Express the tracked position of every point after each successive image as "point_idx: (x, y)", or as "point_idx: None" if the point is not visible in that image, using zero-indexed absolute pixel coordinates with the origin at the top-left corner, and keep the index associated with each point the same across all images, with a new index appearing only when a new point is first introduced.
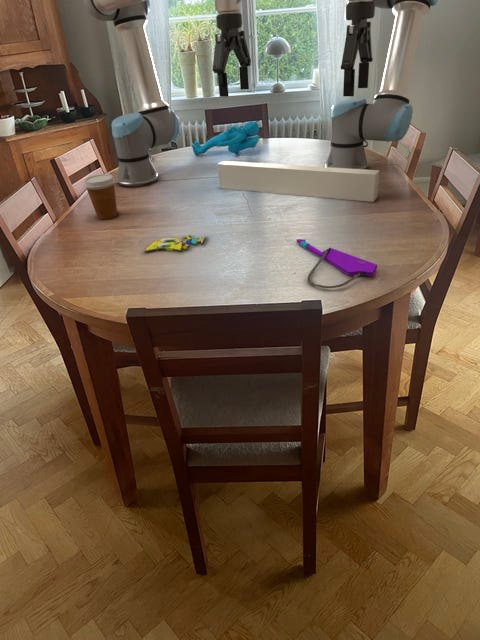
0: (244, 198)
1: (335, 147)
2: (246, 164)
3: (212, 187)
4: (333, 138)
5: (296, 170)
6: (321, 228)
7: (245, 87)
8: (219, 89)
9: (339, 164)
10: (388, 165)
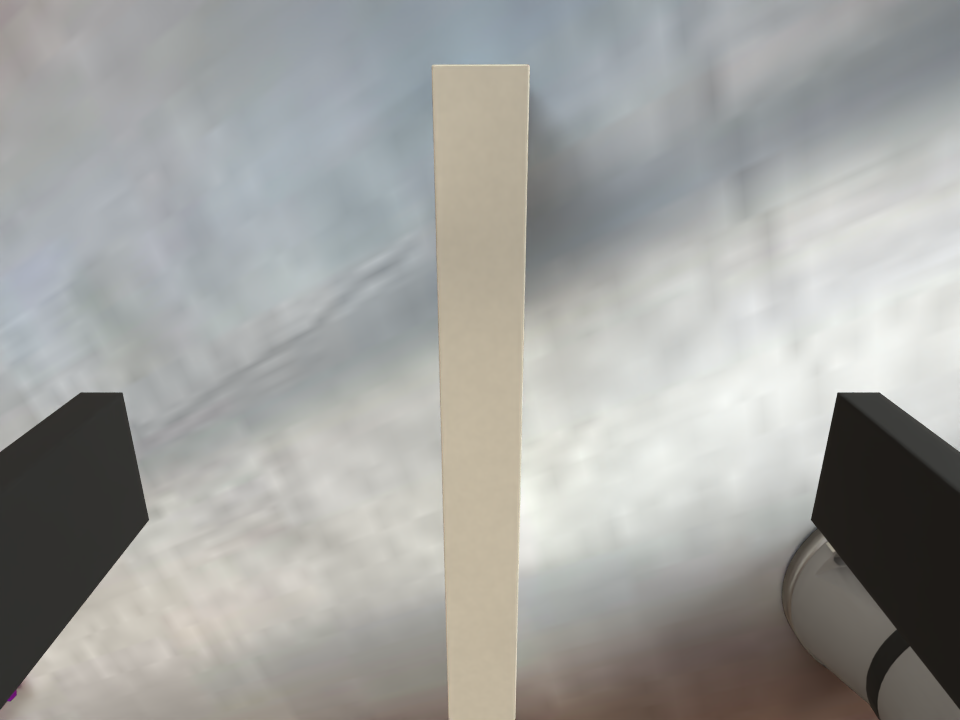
0: (332, 302)
1: (884, 640)
2: (472, 286)
3: (443, 7)
4: None
5: (445, 585)
6: (161, 689)
7: (832, 500)
8: (12, 454)
9: (808, 609)
10: None
